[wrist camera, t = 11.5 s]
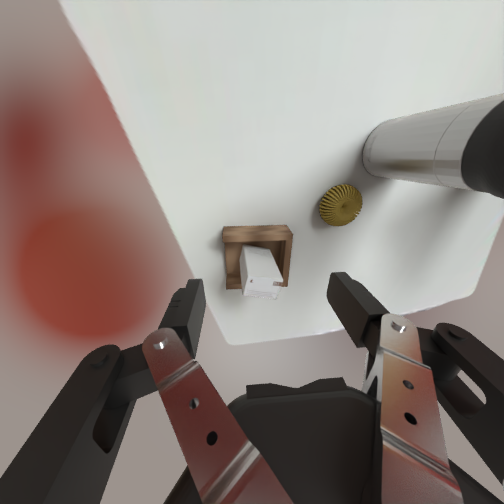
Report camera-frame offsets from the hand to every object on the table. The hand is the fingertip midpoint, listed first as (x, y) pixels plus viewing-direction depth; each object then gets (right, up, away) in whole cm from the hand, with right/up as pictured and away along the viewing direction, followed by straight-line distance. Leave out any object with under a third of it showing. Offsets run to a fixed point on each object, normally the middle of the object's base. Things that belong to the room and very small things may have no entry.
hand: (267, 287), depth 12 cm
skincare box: (0, +2, +29) cm, 29 cm away
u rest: (0, +2, +30) cm, 30 cm away
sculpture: (+16, +12, +27) cm, 34 cm away
